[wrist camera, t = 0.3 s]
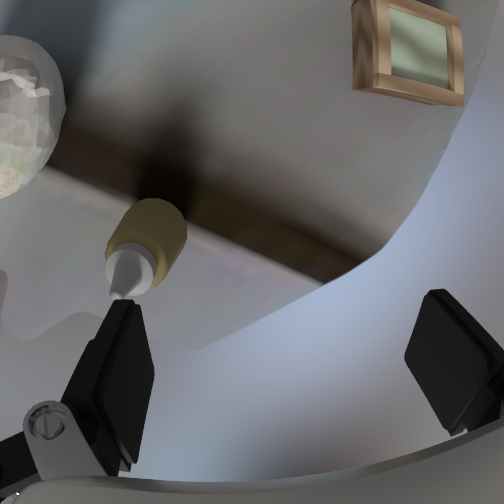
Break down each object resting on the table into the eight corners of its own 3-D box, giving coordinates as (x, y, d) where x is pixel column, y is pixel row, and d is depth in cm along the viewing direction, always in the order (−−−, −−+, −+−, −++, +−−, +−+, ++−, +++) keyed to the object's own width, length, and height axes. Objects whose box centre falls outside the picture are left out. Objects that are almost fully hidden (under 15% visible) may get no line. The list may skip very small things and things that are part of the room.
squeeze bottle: (196, 197, 38) (172, 259, 22) (185, 255, 41) (161, 344, 25) (134, 185, 37) (70, 237, 21) (127, 243, 40) (73, 323, 24)
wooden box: (351, 6, 29) (375, -12, 22) (428, 27, 30) (459, 18, 23) (352, 90, 34) (378, 86, 27) (430, 104, 35) (463, 106, 28)
